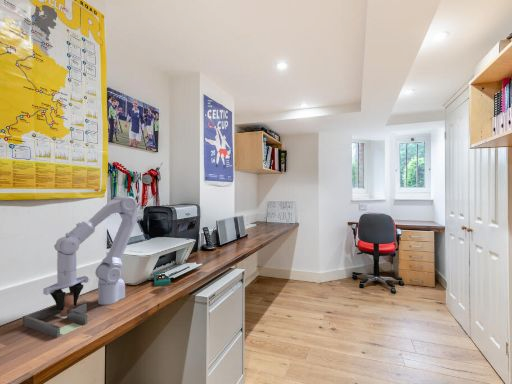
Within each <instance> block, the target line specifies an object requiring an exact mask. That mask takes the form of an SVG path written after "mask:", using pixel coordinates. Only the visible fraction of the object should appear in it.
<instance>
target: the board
mask: <svg viewBox="0 0 512 384" xmlns="http://www.w3.org/2000/svg"><path fill="white" fill-rule="evenodd" d="M53 316H54V317H58V318H61V319H64V320H65V319H67V316H61V312H58V313H56V314H53ZM81 327H82V325H81V324H77V323H76V322H75V323H74V322H71V323H69V324H66V325H64V326H62V327H60V335H63V336H64V335H67V334H69V333H71V332H73V331H75V330H77V329H79V328H81Z"/></svg>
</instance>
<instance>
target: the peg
mask: <svg viewBox="0 0 512 384" xmlns="http://www.w3.org/2000/svg"><path fill="white" fill-rule="evenodd" d="M73 308H75V306H74V293H72V292H70V291H69V292H66V293H65V297H64V309H63V310H62V311H61V312H60V313H61V316H67V311H68V310H70V309H73Z"/></svg>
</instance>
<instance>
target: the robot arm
mask: <svg viewBox="0 0 512 384" xmlns="http://www.w3.org/2000/svg"><path fill="white" fill-rule="evenodd" d="M138 207H139V204H138V203H137V199H136V198H134V197H133V196H128V195H127V196H124V195H117V196H114V197H112V199H110V200H109V201H107V202H106V204H105V205H104V206H103V207H102V208H100V210H98V212H96V213H95V214H94V215H93V216H92V217H91V218H89V220H87V221H81V222H78V223H75V225H76V226H75V227H74V228H72V229H71V230H70V231H69V232H66V233H65V234H64V235H65V236H62V237H60V238H58V239H57V240H56V242H55V244H54V245H53V246H54V249H55V251H57V257H56V258H57V259H56V260H57V262H56V265H57V266H56V271H57V272H56V273H57V277H56V279H57V281H56V282H55V283H53V284H52V285H49V286H47V287H44V288H43V291H42V293H43V295H47V296H48V295H51V297H52V298H53V301H54V302H55V305H57V308H58V310H60V311H62V310H63V309H64V297H65V293H67V292H65V291H63V290H65V289H69V293H70V292H72V293H74V307H76V305H77V303H78V301H79V300H78V299H79V297H80V294H81V292H82V290H83V289H84V284H83V283H88V282H89V276H86V275H83V276H79V277H77V251H78V250H79V249H80V245H81V244H83V242H85V241H86V240H87V239H88V238H89V237H90V236H92V234H94V233H95V231H96V230H95V229H96V227H97V226H98V225H99V224H101V223H103V221H105V220H106V219H108V218H109V217H110V216H111V215H112V214H117V213H118V214H119V216H120V218H121V223H120V224H119V227H118V229H117V232H116V234H115V236H114V239H113V241H112V244H111V246H110V248H109V251H108V254H107V255H106V257H104V258H103V259H102V260H101V261H100V262H101V263H100V264H99V265H97V267H96V269H95V273H94V274H95V276H96V277H97V278H98V281H97V283H98V284H97V287H98V288H97V299H98V300H97V303H98V304H99V305H103V306H104V305H105V306H107V305H112V304H115V303H116V302H118V301H120V300H122V299H125V298H126V282H125V281H124V279H123V278H121V276H122V268H123V262H122V258H123V255H124V253H125V251H126V248H127V245H128V243H129V240H130V238H131V235H132V233H133V231H134V228H135V226H136V223H137V221H138V210H137V208H138Z"/></svg>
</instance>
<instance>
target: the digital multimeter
mask: <svg viewBox="0 0 512 384" xmlns="http://www.w3.org/2000/svg"><path fill="white" fill-rule="evenodd" d="M165 272H166V271H158V272H154V273H153V281H154V287H160V286H161V287H162V286H167V285H171V278H170V276H166V275H165V274H161V275H156V274H159V273H165ZM162 276H165V277H164V278H162ZM159 277H161V278H159Z"/></svg>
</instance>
